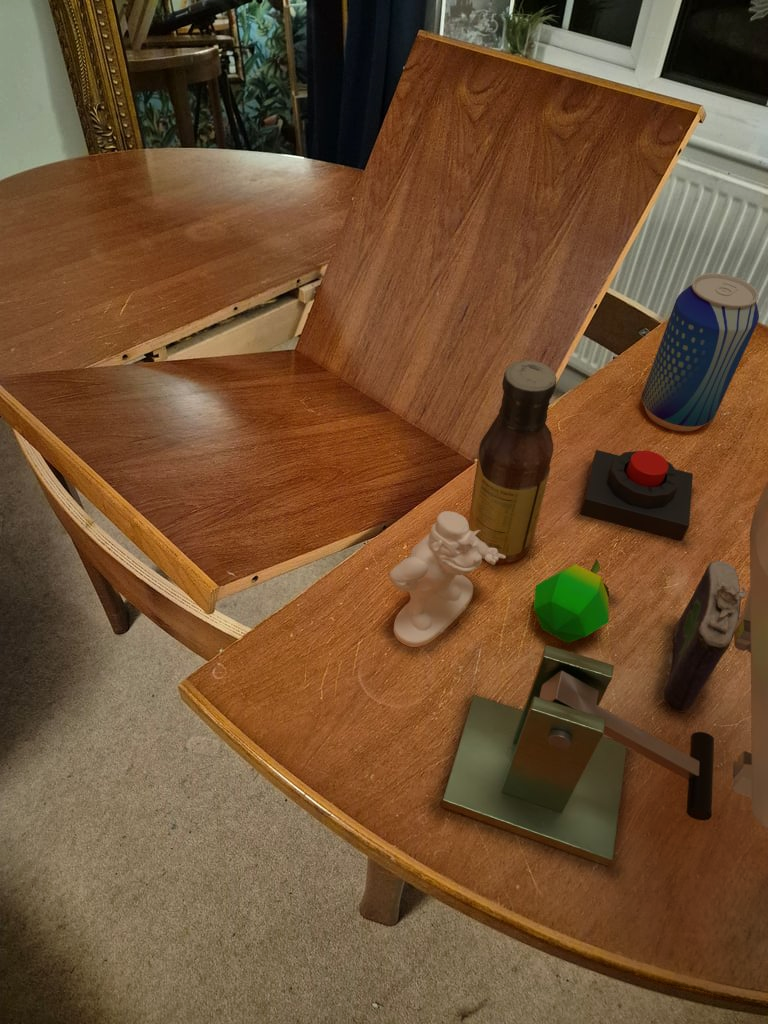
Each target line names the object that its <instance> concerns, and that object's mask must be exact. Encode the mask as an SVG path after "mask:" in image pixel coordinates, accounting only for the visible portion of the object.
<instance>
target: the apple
mask: <svg viewBox="0 0 768 1024" xmlns="http://www.w3.org/2000/svg"><path fill="white" fill-rule="evenodd" d="M601 570H602V569H601V566H600V563H599V561H598V559H596V560H595V562H594V563H593V565H592V567H591V569H590V570H588V569H587V568H585V567H582V566H580V565H578V564H576V563H574V564H572V565H570V566H568V567H567V568H566V567H565V568H564V569H562V570H560V571H558V572H556V573H555V574H553V575H551V576H549V577H548V578H546V579H545V580H544V579H543V580H542V581H541V582H539V583H537V584H535V591H534V602H533V611H534V613H535V615H536V618H537V620H538V623H539V625H540V627H541V630H542V631H544V632H546V633H547V634H550V635H552V636H553V637H555V638H557V639H559V640H561V641H562V642H565V643H567V644H570V643H571V642H575V641H579V640H580V639H583V638H586V637H587V636H589V635H591V634H592V633H594V632H595V631H597V630H599V629H600V628H602V627H603V626H605V625H607V624H608V623H609V622H610V619H609V614H610V613H609V612H610V611H609V610H610V609H609V603H610V602H609V600H611V597H610V589H609V587H608V586H607V585H606V584H605V582H604V580H603V578H602V576H601V575H599V574H598V572H600V571H601Z"/></svg>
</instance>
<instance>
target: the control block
mask: <svg viewBox="0 0 768 1024" xmlns="http://www.w3.org/2000/svg"><path fill="white" fill-rule="evenodd" d="M638 451H639V450H634V451H625V452H622V453H621V454H616V453H611V452H607V451H603V450H599V449H596V450H595V451H594V454H593V457H592V458H593V459H592V462H591V463H590V468H589V472H588V478H587V480H586V487H585V491H584V495H583V500H582V503H581V508H580V515H581V516H586V517H590V518H594V519H598V520H602V521H604V522H605V521H606V522H608V523H613V524H616V525H620V526H624V527H628V528H632V529H635V530H639V531H643V532H647V533H650V534H654V535H658V536H662V537H665V538H669V539H674V540H677V541H681V542H682V541H683V539H684V537H685V535H686V533H687V531H688V529H689V527H690V520H691V519H690V517H691V506H692V494H693V493H692V492H693V479H694V473H692V472H689V471H684V470H680V469H676V468H675V467H674V465H673V464H672V463H671V462H669V460H666V461H667V463H668V470H667V472H666V475H665V477H664V479H663V482H662V483H661V484H660V485H659V486H657V487H650V488H649V487H645V486H641V485H638V484H636V483H635V482H633V481H632V480H630V479H629V478H628V476H627V473H626V470H627V467H628V465H629V462H630V459H631V457H632V455H633V454H634V453H636V452H638Z"/></svg>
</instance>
